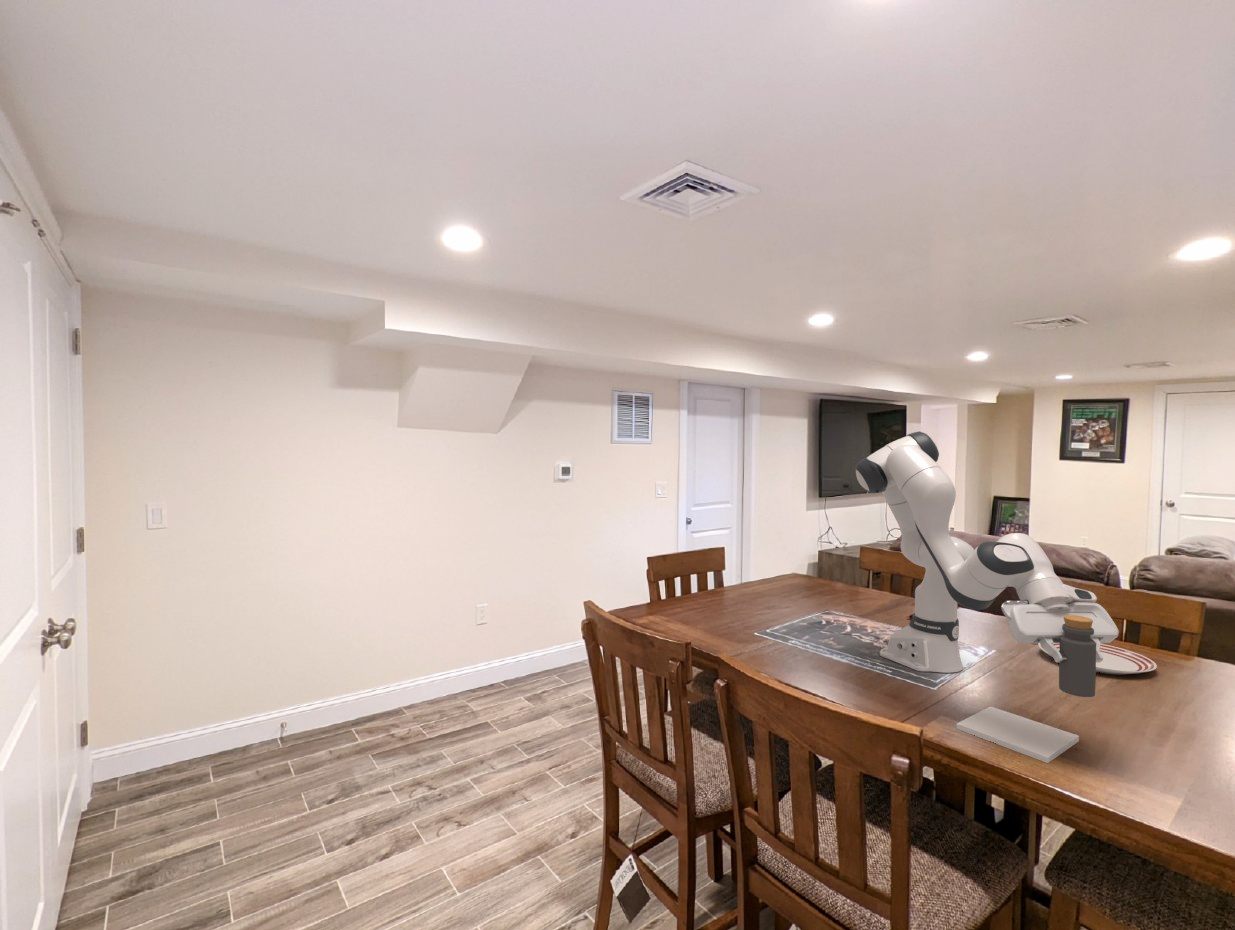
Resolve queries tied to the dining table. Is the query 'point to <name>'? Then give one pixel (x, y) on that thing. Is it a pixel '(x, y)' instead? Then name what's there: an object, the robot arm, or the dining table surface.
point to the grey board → (1019, 733)
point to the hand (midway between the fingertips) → (1080, 661)
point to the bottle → (1078, 657)
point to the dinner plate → (1118, 660)
